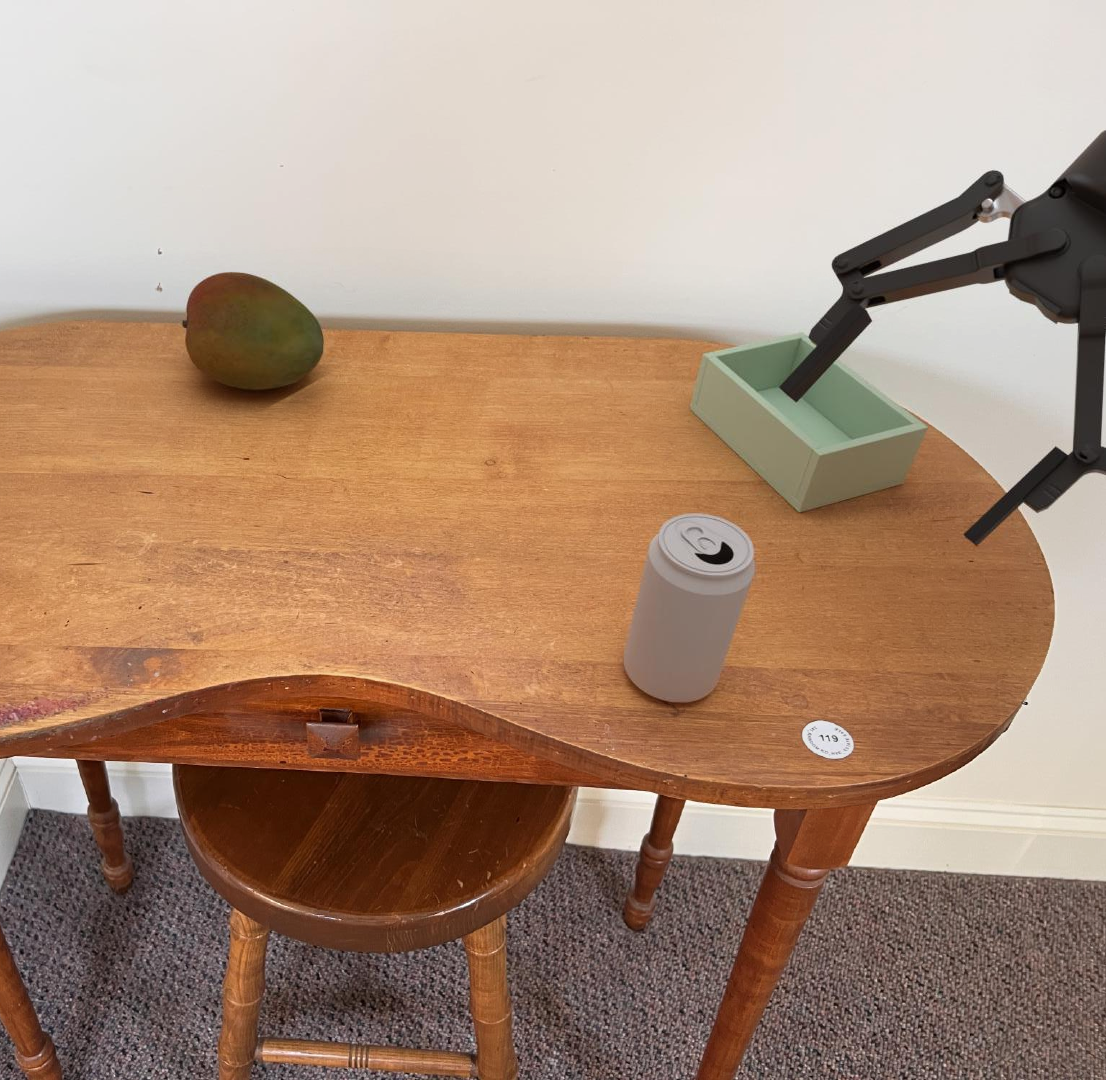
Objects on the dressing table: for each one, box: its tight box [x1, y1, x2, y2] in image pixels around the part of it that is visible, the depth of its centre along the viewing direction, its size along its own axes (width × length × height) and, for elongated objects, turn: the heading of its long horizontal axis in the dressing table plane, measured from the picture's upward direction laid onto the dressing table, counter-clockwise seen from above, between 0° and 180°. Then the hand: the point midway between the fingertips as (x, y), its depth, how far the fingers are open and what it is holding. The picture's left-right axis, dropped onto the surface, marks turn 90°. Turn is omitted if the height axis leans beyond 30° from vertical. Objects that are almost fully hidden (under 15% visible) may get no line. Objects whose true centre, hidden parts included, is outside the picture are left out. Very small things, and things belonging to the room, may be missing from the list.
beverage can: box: [622, 512, 756, 703], centre depth 66 cm, size 6×6×12 cm
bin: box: [689, 331, 929, 513], centre depth 88 cm, size 16×11×6 cm
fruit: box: [182, 271, 325, 391], centre depth 93 cm, size 12×13×10 cm
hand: (873, 465), depth 62 cm, fingers open, 13 cm apart
